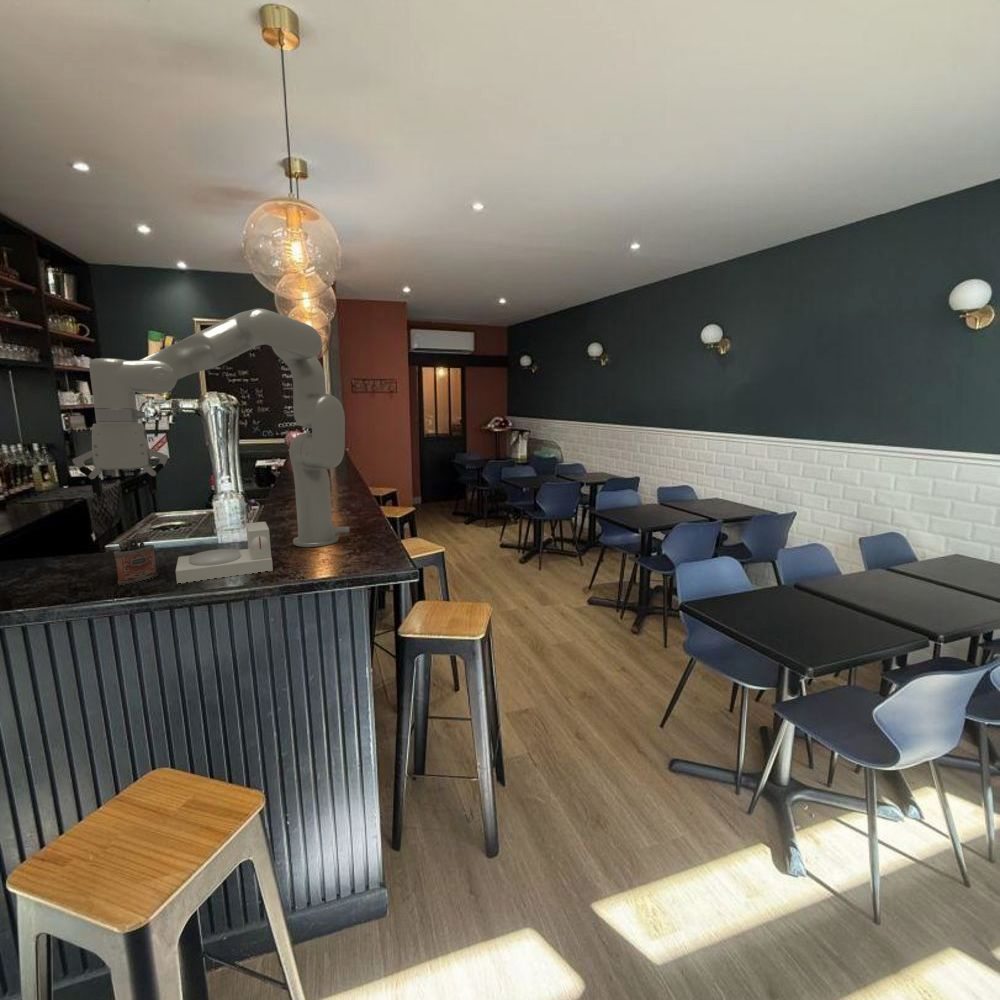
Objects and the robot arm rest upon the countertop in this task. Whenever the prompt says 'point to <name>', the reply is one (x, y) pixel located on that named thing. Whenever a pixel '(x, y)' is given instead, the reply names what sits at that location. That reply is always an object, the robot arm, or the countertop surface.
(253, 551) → the kitchen scale
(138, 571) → the lighter
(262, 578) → the countertop surface
